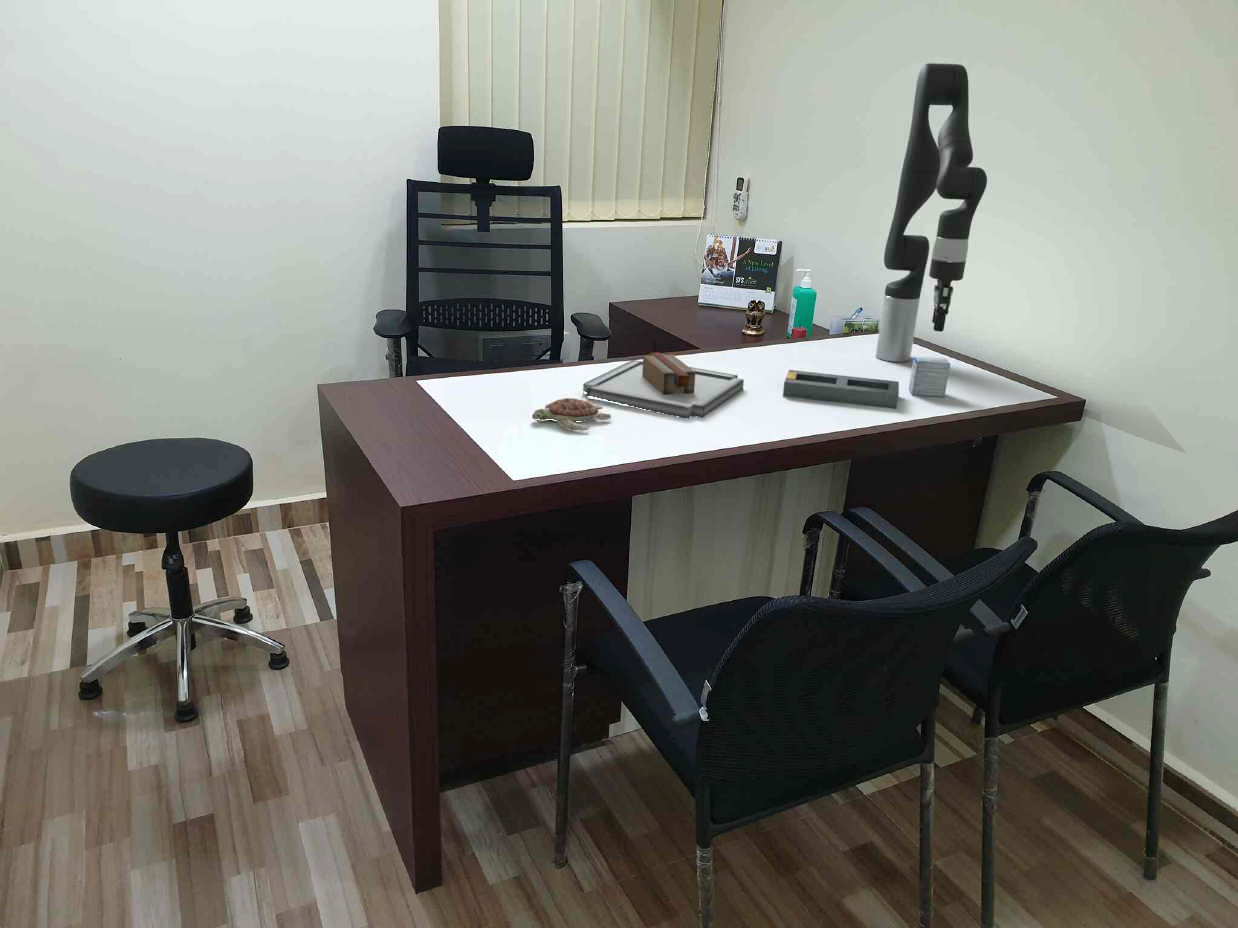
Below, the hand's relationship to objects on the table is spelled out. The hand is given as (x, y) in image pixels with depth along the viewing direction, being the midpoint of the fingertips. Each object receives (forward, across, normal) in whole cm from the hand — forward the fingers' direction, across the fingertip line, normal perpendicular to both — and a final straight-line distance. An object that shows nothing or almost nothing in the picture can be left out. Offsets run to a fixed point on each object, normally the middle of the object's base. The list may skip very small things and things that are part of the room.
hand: (937, 327), depth 216 cm
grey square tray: (+17, +23, -60) cm, 67 cm away
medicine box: (+17, 0, 0) cm, 17 cm away
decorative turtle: (+17, +50, -74) cm, 91 cm away
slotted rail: (+16, +10, -20) cm, 28 cm away
